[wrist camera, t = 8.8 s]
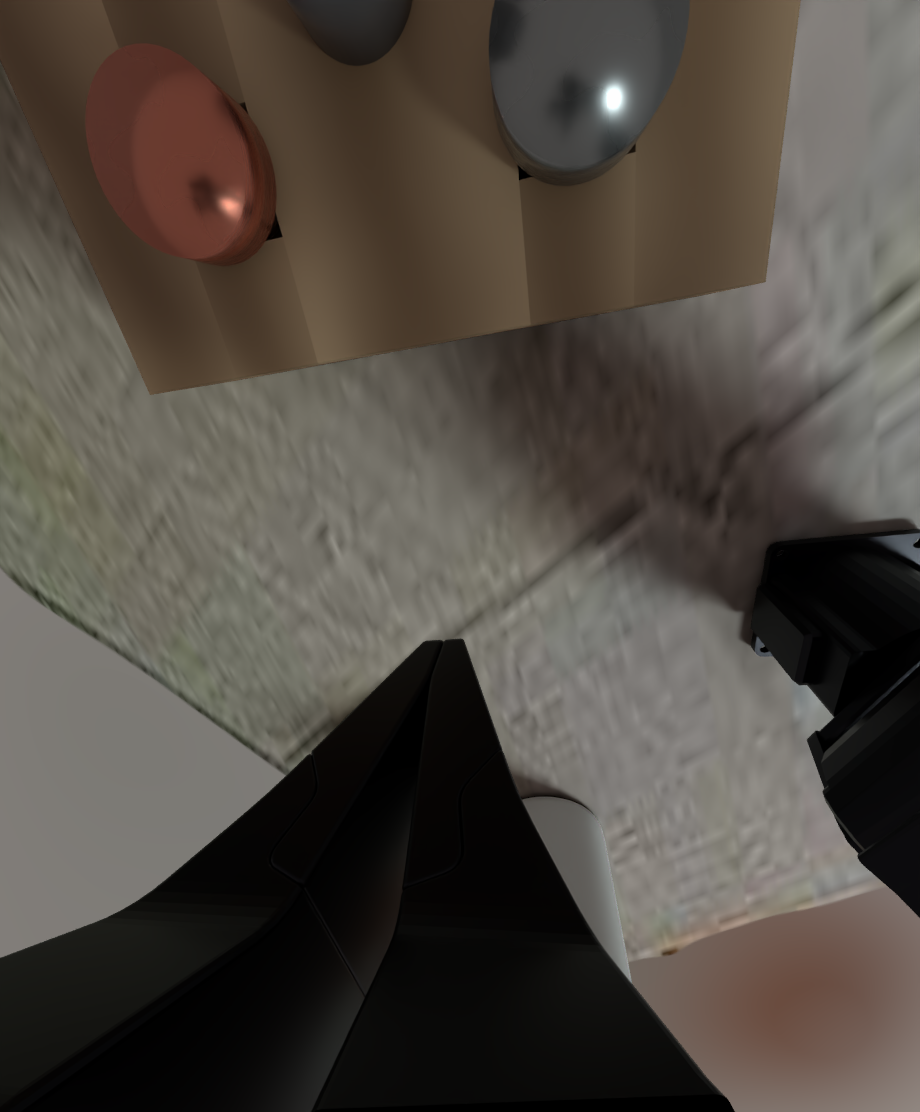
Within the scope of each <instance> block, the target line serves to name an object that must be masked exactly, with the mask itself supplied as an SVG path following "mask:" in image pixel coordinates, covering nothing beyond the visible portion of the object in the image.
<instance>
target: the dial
mask: <svg viewBox="0 0 920 1112" xmlns="http://www.w3.org/2000/svg"><path fill="white" fill-rule="evenodd" d="M287 2H288V3H289V5H290V6H291V8H292V9H293V11H294V12H295V13H296V15H297V16H298V18H299V19H300V21H301V22H302V24H303V25H304V27H305V28H306V30H307V31H308V33H309V34H310V36H311V37H312V38H313V40H314V41H315V42H316V44H317V45H318V46H319V47H320V48H321V49H322V50H323V51H324V52H325V53H326V54H327V55H329V56H330V57H331V58H333V59H335V60H336V61H338V62H341V63H343V64H346V65H352V66H362V65H367V64H370V63H373V62H375V61H377V60H379V59H380V58H382V57H383V56H384V55H385V54H387V53H388V52H389V51H390V50H391V48H392V47H393V46H394V45H395V44H396V42H397V41H398V39H399V37H400V36H401V34H402V32H403V30H404V28H405V25H406V23H407V20H408V17H409V14H410V10H411V6H412V0H287Z"/></svg>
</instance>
